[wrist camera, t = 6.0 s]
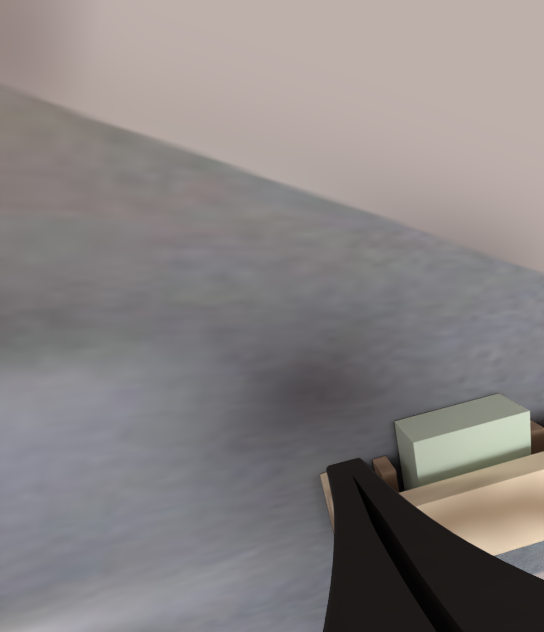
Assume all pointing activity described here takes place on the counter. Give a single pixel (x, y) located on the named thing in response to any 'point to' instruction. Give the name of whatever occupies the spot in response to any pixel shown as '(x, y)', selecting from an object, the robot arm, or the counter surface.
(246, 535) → the counter surface
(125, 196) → the counter surface
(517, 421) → the pale green slab
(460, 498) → the overhang shelf
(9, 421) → the counter surface
